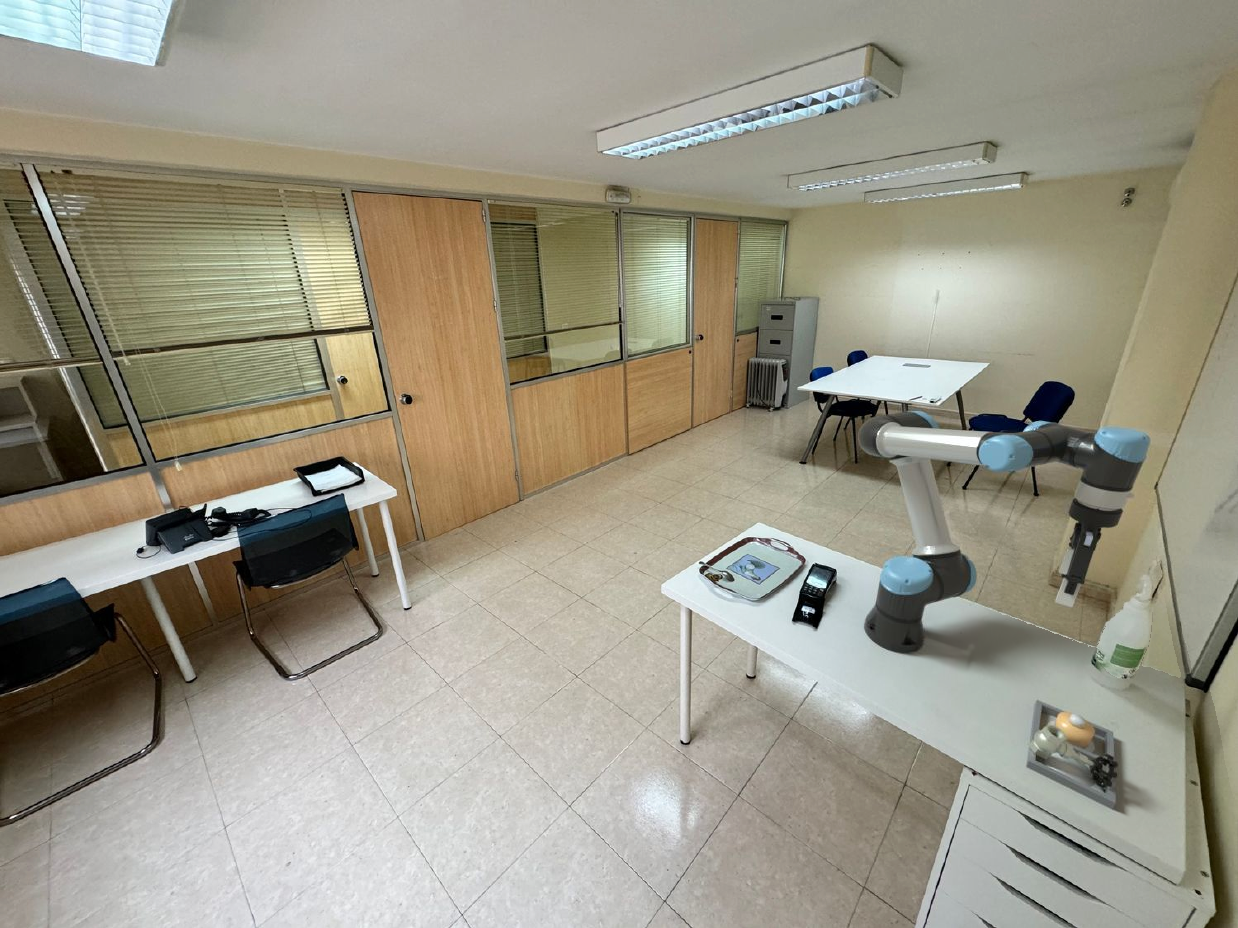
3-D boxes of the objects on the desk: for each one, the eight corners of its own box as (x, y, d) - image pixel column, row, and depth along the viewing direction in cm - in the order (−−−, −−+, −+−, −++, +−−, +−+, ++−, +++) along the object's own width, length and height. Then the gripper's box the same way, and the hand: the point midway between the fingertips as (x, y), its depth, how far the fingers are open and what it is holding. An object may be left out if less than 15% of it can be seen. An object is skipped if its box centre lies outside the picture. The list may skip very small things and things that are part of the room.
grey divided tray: (1025, 769, 100) (1028, 760, 100) (1033, 707, 114) (1036, 699, 113) (1110, 811, 92) (1115, 803, 91) (1109, 739, 106) (1113, 731, 105)
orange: (1051, 737, 106) (1059, 719, 104) (1053, 719, 110) (1060, 701, 108) (1088, 754, 102) (1097, 736, 100) (1088, 735, 106) (1097, 717, 104)
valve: (1028, 756, 100) (1101, 795, 95) (1044, 738, 97) (1121, 777, 91) (1026, 732, 105) (1095, 767, 99) (1042, 714, 102) (1115, 749, 96)
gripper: (1126, 533, 86) (1087, 626, 95) (1122, 487, 103) (1089, 569, 111) (1071, 521, 91) (1038, 610, 99) (1075, 478, 108) (1047, 557, 116)
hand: (1065, 588), depth 105 cm, fingers open, 13 cm apart
